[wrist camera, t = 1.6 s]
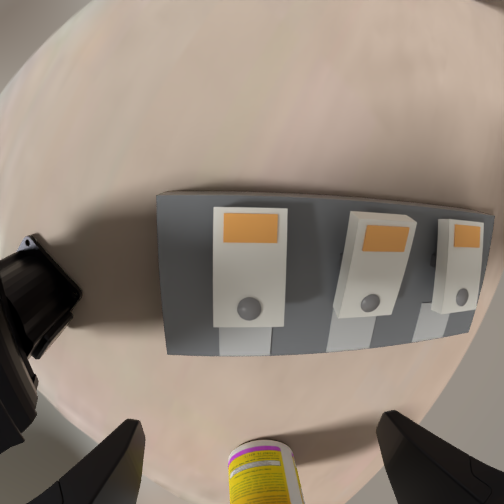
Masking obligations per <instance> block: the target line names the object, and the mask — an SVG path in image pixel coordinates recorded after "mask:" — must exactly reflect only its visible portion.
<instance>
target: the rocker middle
mask: <svg viewBox="0 0 504 504" xmlns="http://www.w3.org/2000/svg"><path fill="white" fill-rule="evenodd" d="M416 225H417V222H416V221H414V220H413V219H412V218H410V217H409V216H407V215H401V214H388V213H373V212H358V211H350V217H349V223H348V230H347V236H346V241H345V247H344V253H343V258H342V263H341V269H340V274H339V279H338V284H337V289H336V293H335V298H334V303H333V308H334V310H335V313H336V315H337V317H338V319H339V318H355V317H369V316H382V315H391V314H392V311H393V308H394V305H395V302H396V299H397V296H398V292H399V289H400V286H401V283H402V279H403V276H404V272H405V269H406V265H407V262H408V258H409V254H410V250H411V246H412V242H413V238H414V234H415V230H416Z"/></svg>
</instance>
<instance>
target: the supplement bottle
mask: <svg viewBox="0 0 504 504" xmlns="http://www.w3.org/2000/svg"><path fill="white" fill-rule="evenodd" d="M228 469H229V491H230V504H305V502H304V497H303V493H302V489H301V484H300V480H299V476H298V471H297V467H296V463H295V459H294V455H293V452H292V450H291V449H290V448H289V447H288V446H287V445H285V444H283V443H281V442H278V441H273V440H256V441H251V442H248V443H245V444H242V445H240V446H238V447H237V448H236V449H234V450H233V451H232V453H231V454H230V456H229V459H228Z"/></svg>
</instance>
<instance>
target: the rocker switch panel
mask: <svg viewBox="0 0 504 504" xmlns="http://www.w3.org/2000/svg"><path fill="white" fill-rule="evenodd" d="M156 200H157V238H158V258H159V275H160V288H161V300H162V311H163V321H164V331H165V339H166V348H167V355H188V356H276V355H298V354H314V353H328V352H340V351H350V350H360V349H369V348H377V347H385V346H393V345H400V344H407V343H413V342H419V341H425V340H431V339H437V338H442V337H448V336H453V335H458V334H462V333H467V332H469V329H470V326H471V323H472V320H473V316H474V313H475V310H476V309H475V310H468V311H462V312H455V313H448V314H439V313H437V312H435V311H433V310H431V306H432V299H433V290H434V281H435V271H436V258H437V241H438V219H454V220H464V221H473V222H482V223H484V233H483V252H482V265H481V275H480V284H479V292H478V299H479V295H480V291H481V287H482V283H483V279H484V275H485V270H486V266H487V261H488V256H489V250H490V245H491V239H492V232H493V225H494V218H495V216H493V215H490V214H486V213H482V212H479V211H475V210H471V209H463V208H456V207H448V206H441V205H432V204H424V203H415V202H405V201H395V200H385V199H373V198H361V197H348V196H334V195H317V194H298V193H274V192H238V191H167V192H164V193H162V194H159V195H156ZM214 207H250V208H287V209H288V214H287V257H286V286H285V311H284V327H213V209H214ZM350 211H358V212H373V213H388V214H401V215H407V216H409V217H410V218H412V219H413V220H414V221H416V222H417V225H416V230H415V234H414V238H413V242H412V246H411V250H410V254H409V258H408V262H407V265H406V269H405V272H404V276H403V279H402V283H401V286H400V289H399V292H398V296H397V299H396V302H395V305H394V308H393V311H392V314H391V315H382V316H369V317H355V318H339V319H338V317H337V315H336V313H335V310H334V308H333V303H334V298H335V293H336V289H337V284H338V279H339V274H340V269H341V263H342V258H343V253H344V247H345V241H346V236H347V230H348V223H349V217H350ZM478 299H477V303H478Z"/></svg>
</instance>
